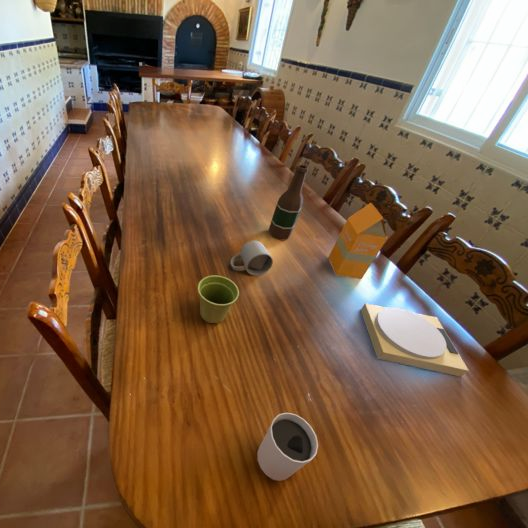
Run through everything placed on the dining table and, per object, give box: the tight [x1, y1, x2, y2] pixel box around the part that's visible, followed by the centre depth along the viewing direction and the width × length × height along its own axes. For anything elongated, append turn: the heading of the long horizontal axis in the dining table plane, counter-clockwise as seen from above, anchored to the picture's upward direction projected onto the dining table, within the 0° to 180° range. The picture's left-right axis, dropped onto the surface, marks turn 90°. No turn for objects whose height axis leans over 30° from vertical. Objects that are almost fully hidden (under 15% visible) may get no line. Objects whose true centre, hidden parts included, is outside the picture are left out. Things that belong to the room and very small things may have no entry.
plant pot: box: [197, 274, 240, 324], centre depth 70 cm, size 9×9×9 cm
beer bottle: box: [268, 164, 309, 241], centre depth 95 cm, size 8×8×24 cm
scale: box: [360, 302, 470, 378], centre depth 69 cm, size 17×15×4 cm
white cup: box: [256, 412, 319, 482], centre depth 46 cm, size 7×7×10 cm
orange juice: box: [328, 202, 388, 280], centre depth 84 cm, size 8×9×20 cm
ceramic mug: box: [230, 240, 274, 276], centre depth 85 cm, size 11×8×8 cm
